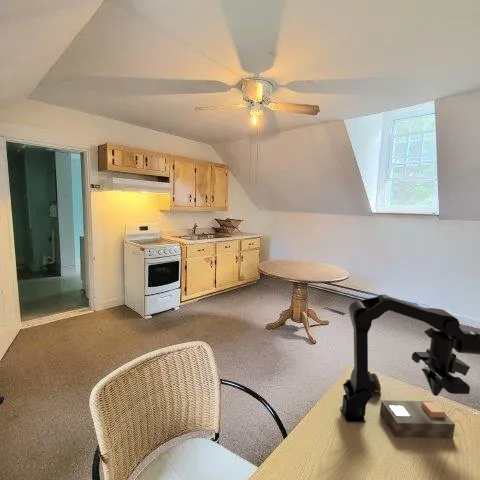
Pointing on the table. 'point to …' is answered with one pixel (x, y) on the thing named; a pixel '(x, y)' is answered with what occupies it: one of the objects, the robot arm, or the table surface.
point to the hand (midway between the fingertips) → (435, 395)
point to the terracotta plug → (433, 410)
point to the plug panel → (416, 421)
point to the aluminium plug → (399, 411)
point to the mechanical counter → (377, 384)
